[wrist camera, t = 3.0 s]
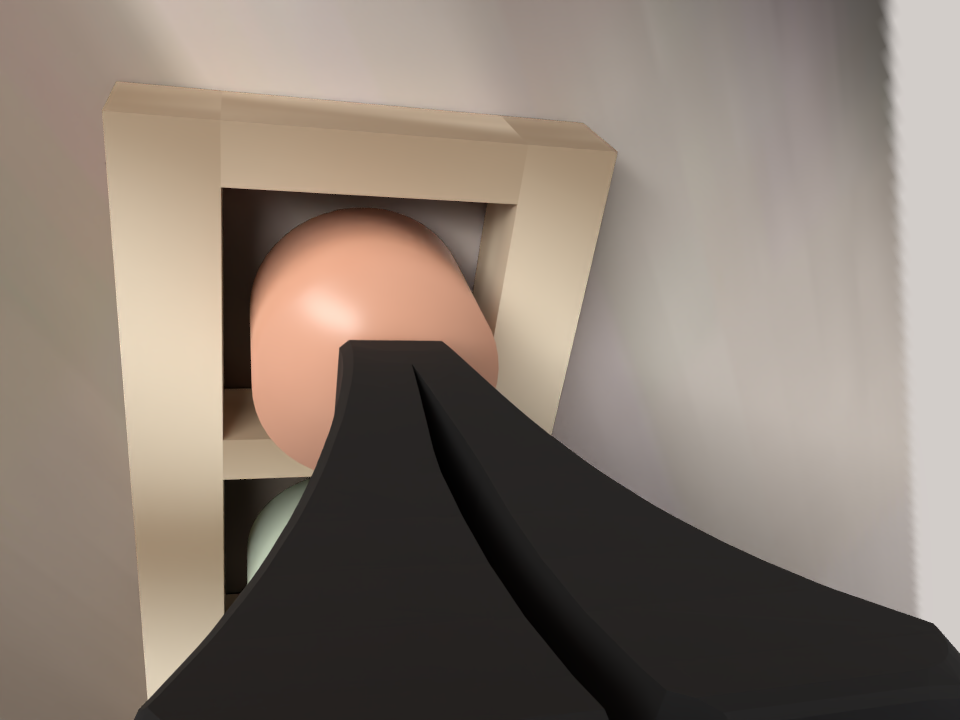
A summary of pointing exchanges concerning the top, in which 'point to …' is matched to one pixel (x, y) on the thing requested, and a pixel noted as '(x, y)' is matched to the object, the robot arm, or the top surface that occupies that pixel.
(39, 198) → the top surface
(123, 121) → the button panel
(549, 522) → the robot arm
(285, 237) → the terracotta button
